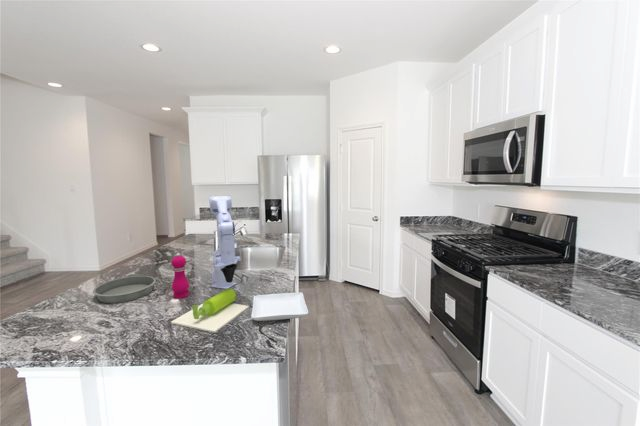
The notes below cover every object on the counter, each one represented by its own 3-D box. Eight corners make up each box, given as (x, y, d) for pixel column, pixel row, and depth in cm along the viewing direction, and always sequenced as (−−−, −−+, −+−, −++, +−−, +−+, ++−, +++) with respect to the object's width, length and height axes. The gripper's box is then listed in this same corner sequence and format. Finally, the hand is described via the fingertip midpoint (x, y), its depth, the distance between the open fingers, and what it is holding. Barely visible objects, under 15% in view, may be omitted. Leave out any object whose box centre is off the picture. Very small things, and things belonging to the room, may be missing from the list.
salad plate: (302, 298, 134) (302, 290, 134) (309, 321, 113) (309, 312, 113) (253, 302, 131) (253, 294, 130) (251, 326, 110) (250, 317, 109)
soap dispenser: (235, 286, 127) (200, 306, 109) (236, 302, 128) (202, 324, 110) (223, 285, 130) (187, 304, 111) (225, 300, 130) (189, 322, 112)
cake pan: (81, 299, 136) (80, 289, 135) (135, 281, 158) (134, 272, 157) (115, 309, 125) (114, 299, 125) (167, 288, 147) (167, 279, 146)
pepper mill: (193, 294, 139) (190, 251, 136) (180, 300, 133) (177, 255, 130) (182, 291, 142) (179, 250, 139) (168, 297, 136) (165, 254, 133)
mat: (170, 323, 112) (170, 321, 112) (209, 300, 132) (209, 299, 132) (214, 332, 105) (214, 331, 105) (249, 307, 125) (249, 306, 125)
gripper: (224, 255, 118) (226, 289, 120) (245, 247, 131) (247, 277, 133) (209, 254, 120) (211, 287, 122) (232, 245, 134) (233, 275, 136)
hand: (229, 281), depth 128 cm, fingers closed
